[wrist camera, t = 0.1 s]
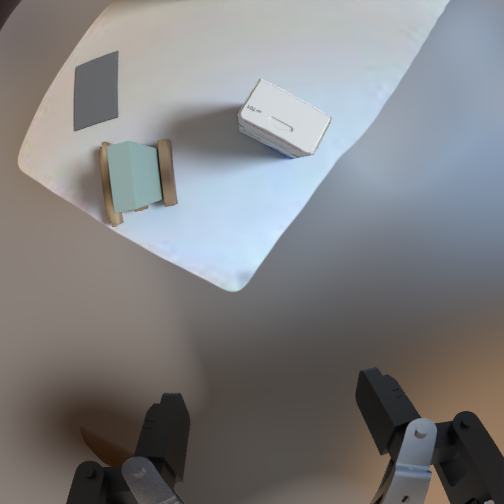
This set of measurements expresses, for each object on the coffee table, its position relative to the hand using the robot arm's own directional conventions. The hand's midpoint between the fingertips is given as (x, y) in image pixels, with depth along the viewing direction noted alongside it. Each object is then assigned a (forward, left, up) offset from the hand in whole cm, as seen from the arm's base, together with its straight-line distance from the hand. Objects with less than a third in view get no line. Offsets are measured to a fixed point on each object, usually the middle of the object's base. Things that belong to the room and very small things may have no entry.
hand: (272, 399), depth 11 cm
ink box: (-15, +5, -30) cm, 34 cm away
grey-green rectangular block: (-11, -12, -30) cm, 34 cm away
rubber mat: (-27, -21, -30) cm, 45 cm away
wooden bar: (-11, -19, -30) cm, 37 cm away
